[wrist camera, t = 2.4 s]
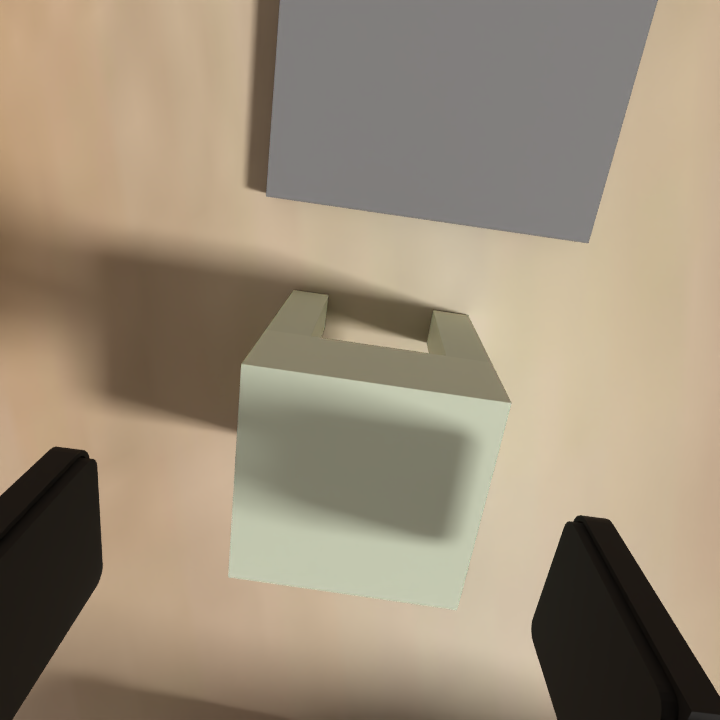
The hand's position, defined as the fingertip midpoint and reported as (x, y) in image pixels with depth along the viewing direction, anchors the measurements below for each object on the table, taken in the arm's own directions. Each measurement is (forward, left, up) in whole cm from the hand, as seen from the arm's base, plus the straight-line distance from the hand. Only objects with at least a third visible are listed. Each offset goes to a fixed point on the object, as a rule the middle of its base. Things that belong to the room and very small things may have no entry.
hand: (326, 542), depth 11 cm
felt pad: (-2, -11, -9) cm, 14 cm away
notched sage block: (-1, 0, -9) cm, 9 cm away
